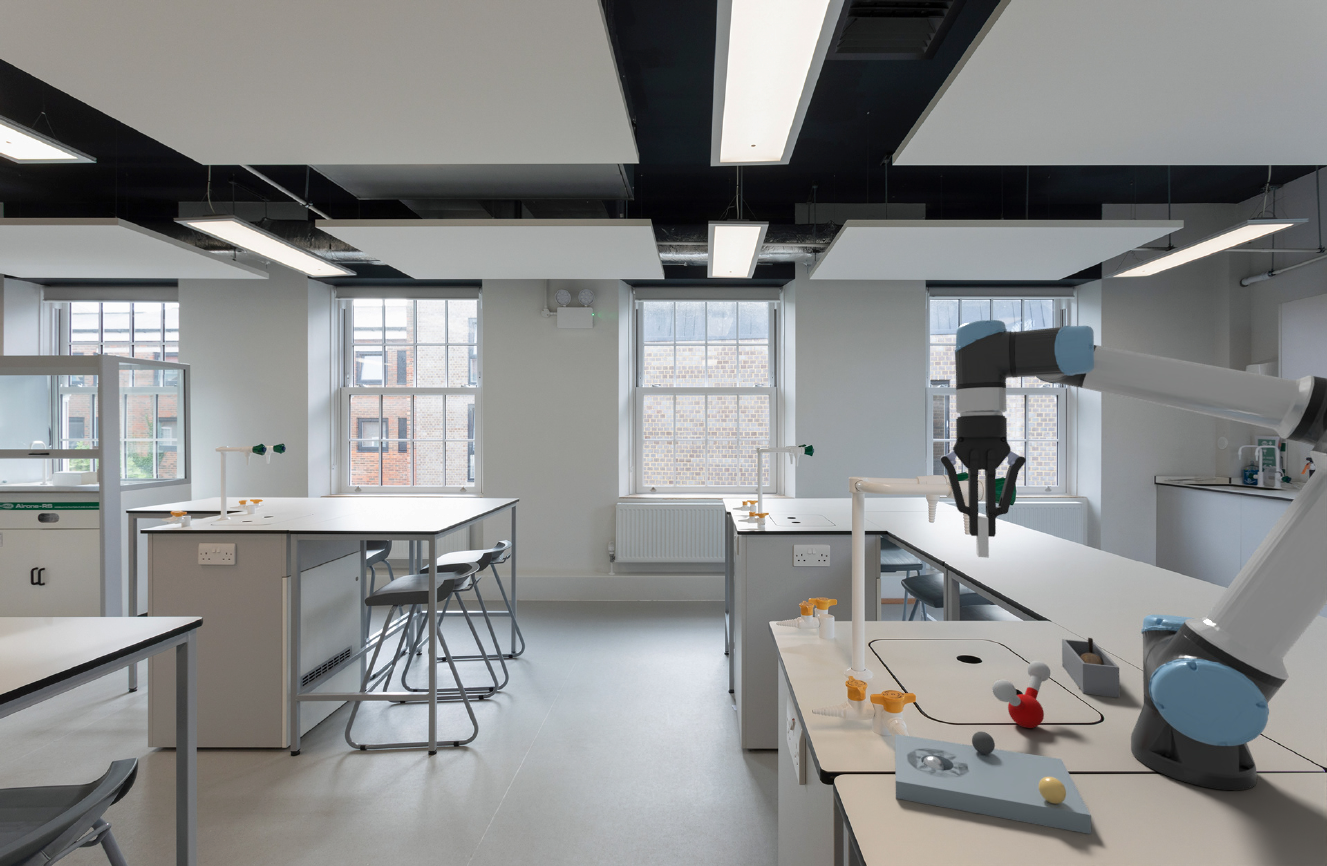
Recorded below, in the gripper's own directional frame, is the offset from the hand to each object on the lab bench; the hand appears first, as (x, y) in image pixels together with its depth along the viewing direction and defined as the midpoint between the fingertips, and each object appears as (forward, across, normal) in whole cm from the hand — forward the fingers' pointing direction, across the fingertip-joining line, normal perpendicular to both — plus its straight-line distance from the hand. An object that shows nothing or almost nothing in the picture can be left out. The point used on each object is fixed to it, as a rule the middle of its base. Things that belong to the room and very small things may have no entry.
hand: (982, 555), depth 103 cm
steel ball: (+31, +9, +12) cm, 34 cm away
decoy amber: (+28, -6, +18) cm, 34 cm away
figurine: (+33, -25, -40) cm, 58 cm away
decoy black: (+28, +1, +6) cm, 29 cm away
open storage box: (+32, -25, -40) cm, 57 cm away
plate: (+32, +2, +12) cm, 35 cm away
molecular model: (+33, -8, -12) cm, 36 cm away
